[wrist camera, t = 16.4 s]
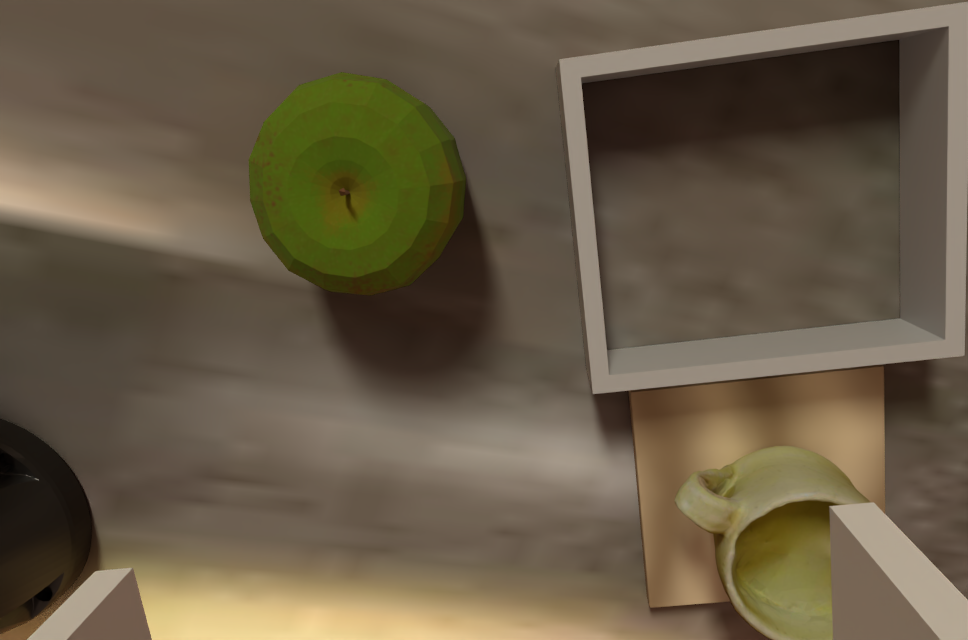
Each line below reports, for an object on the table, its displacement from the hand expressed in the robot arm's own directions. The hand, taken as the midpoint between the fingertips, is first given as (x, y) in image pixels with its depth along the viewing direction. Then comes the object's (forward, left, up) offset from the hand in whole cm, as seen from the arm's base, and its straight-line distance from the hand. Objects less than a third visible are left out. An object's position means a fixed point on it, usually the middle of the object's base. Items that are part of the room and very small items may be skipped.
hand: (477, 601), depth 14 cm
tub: (+14, +3, -33) cm, 36 cm away
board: (+14, -15, -33) cm, 39 cm away
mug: (+13, -15, -32) cm, 38 cm away
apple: (-7, +7, -33) cm, 34 cm away
